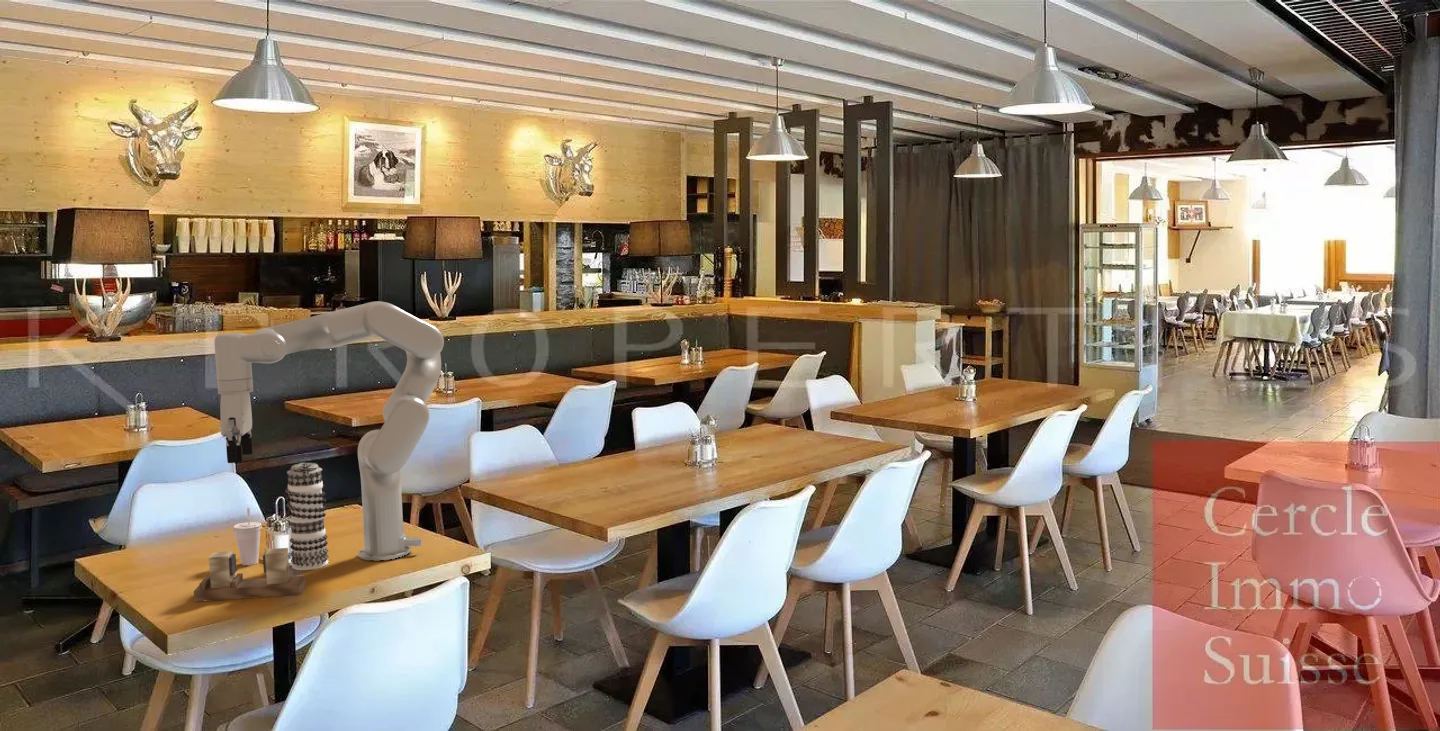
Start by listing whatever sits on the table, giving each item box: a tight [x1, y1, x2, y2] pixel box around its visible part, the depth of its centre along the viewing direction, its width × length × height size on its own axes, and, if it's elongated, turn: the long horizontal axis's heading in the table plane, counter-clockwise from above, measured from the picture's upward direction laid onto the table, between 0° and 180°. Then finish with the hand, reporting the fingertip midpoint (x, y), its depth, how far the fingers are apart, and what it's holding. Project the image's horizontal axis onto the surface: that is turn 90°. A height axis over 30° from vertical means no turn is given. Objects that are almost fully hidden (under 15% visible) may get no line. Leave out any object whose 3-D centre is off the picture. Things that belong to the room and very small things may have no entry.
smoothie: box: [232, 507, 263, 566], centre depth 261 cm, size 6×6×14 cm
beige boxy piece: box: [208, 550, 238, 588], centre depth 237 cm, size 5×4×7 cm
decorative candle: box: [284, 462, 329, 571], centre depth 258 cm, size 9×9×25 cm
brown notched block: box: [193, 547, 306, 602], centre depth 238 cm, size 22×6×10 cm, turn 101°
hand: (240, 458), depth 249 cm, fingers open, 9 cm apart
